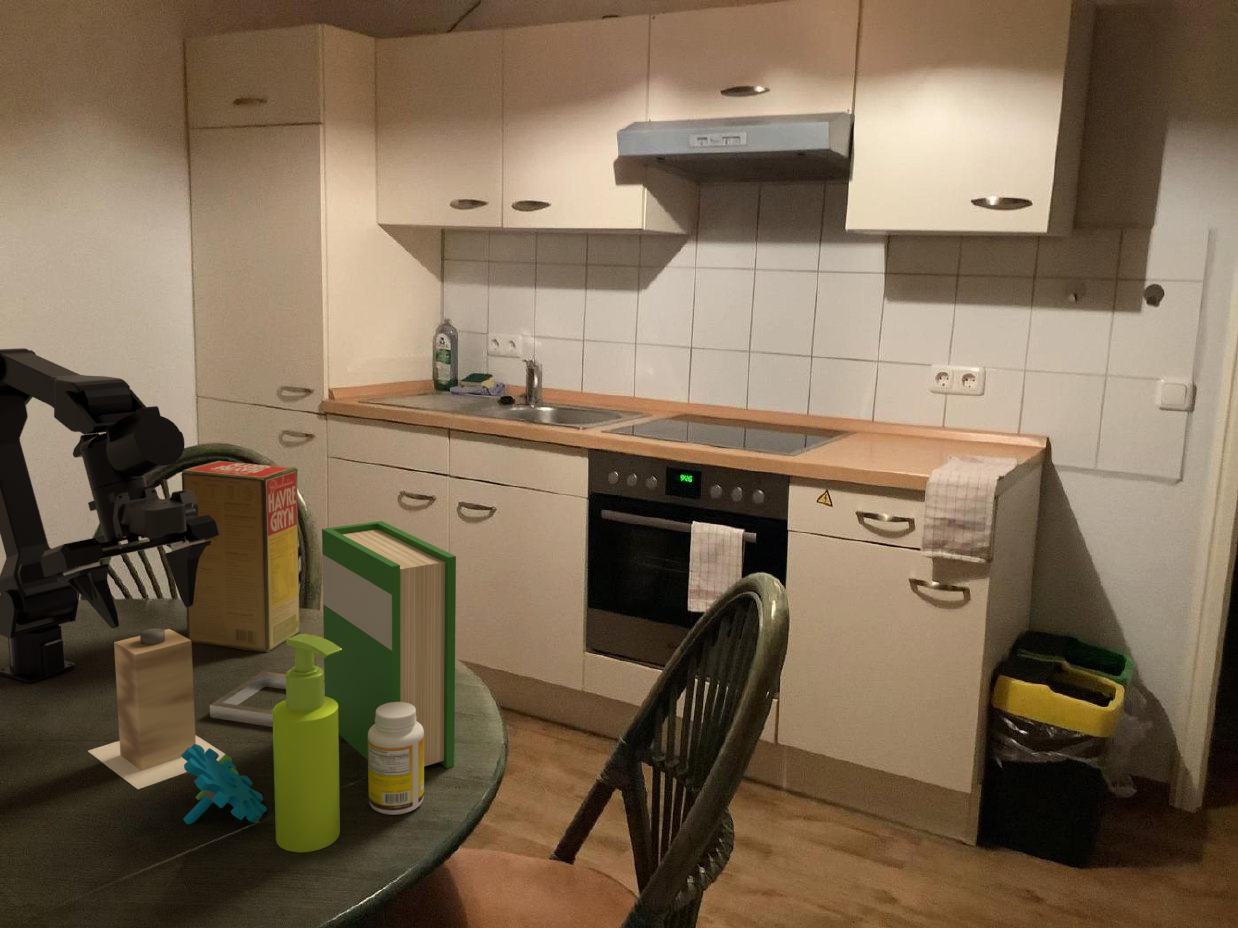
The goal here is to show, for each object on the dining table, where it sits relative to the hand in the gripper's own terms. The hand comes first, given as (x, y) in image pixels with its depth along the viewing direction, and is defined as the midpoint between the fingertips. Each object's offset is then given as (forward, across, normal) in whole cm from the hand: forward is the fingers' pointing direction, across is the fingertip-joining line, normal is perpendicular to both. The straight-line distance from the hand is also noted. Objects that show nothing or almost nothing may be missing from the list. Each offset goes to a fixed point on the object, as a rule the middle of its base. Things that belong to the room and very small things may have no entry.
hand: (153, 616), depth 117 cm
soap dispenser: (+24, -6, -26) cm, 36 cm away
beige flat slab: (+15, -4, -2) cm, 16 cm away
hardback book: (+21, +12, -18) cm, 31 cm away
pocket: (+15, +12, -1) cm, 19 cm away
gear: (+21, -8, -16) cm, 28 cm away
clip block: (+15, -4, -2) cm, 15 cm away
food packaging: (+7, +24, +20) cm, 32 cm away
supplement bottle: (+25, +4, -27) cm, 37 cm away
